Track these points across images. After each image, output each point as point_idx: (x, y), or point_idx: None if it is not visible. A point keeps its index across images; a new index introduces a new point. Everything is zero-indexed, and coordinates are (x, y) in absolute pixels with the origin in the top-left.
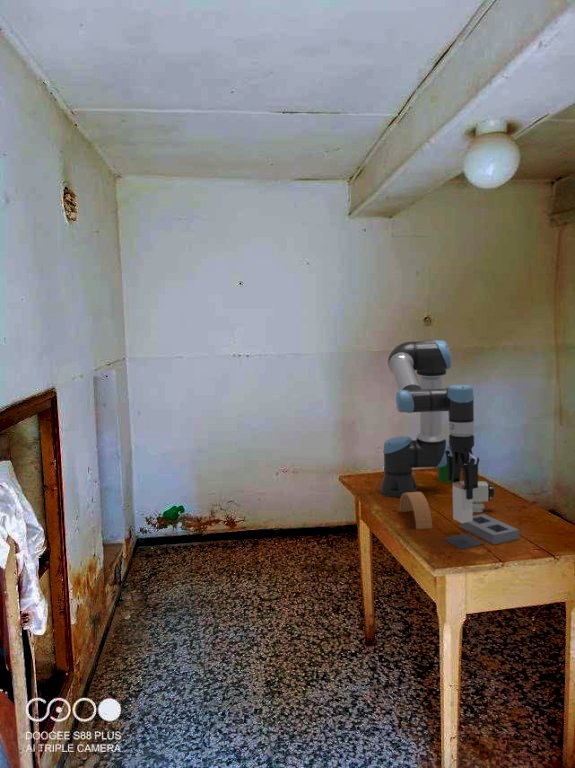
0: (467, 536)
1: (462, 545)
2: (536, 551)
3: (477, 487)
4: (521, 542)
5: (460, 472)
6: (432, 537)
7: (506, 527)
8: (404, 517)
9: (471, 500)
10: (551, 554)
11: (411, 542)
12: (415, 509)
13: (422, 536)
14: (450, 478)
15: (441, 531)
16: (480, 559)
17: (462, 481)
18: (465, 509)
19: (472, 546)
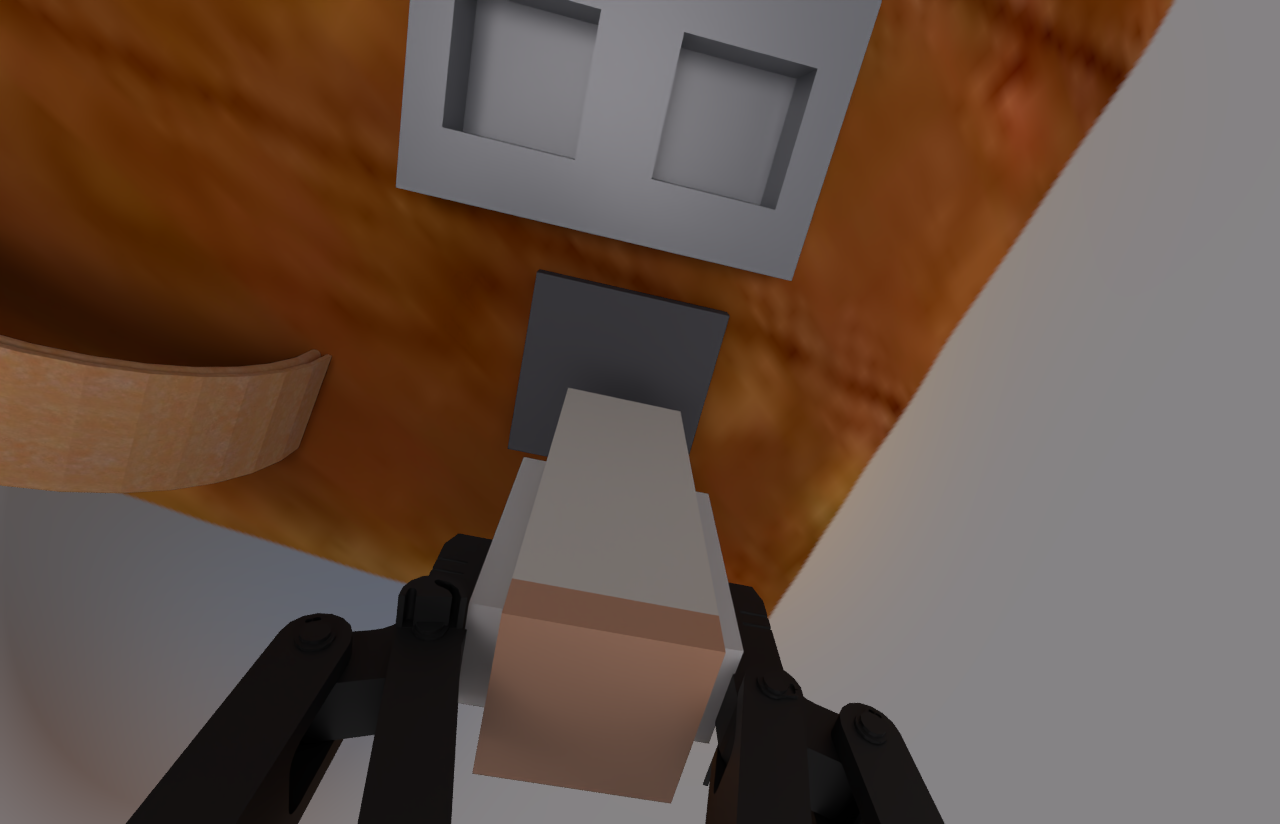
0: (585, 307)
1: None
2: (1023, 113)
3: (887, 721)
4: (879, 45)
5: (451, 809)
6: (438, 451)
7: (777, 41)
8: (29, 337)
9: (717, 549)
10: (1122, 75)
11: None
12: (155, 479)
13: (393, 483)
14: (339, 738)
15: (391, 335)
16: (814, 476)
17: (524, 649)
18: None
19: (703, 404)
